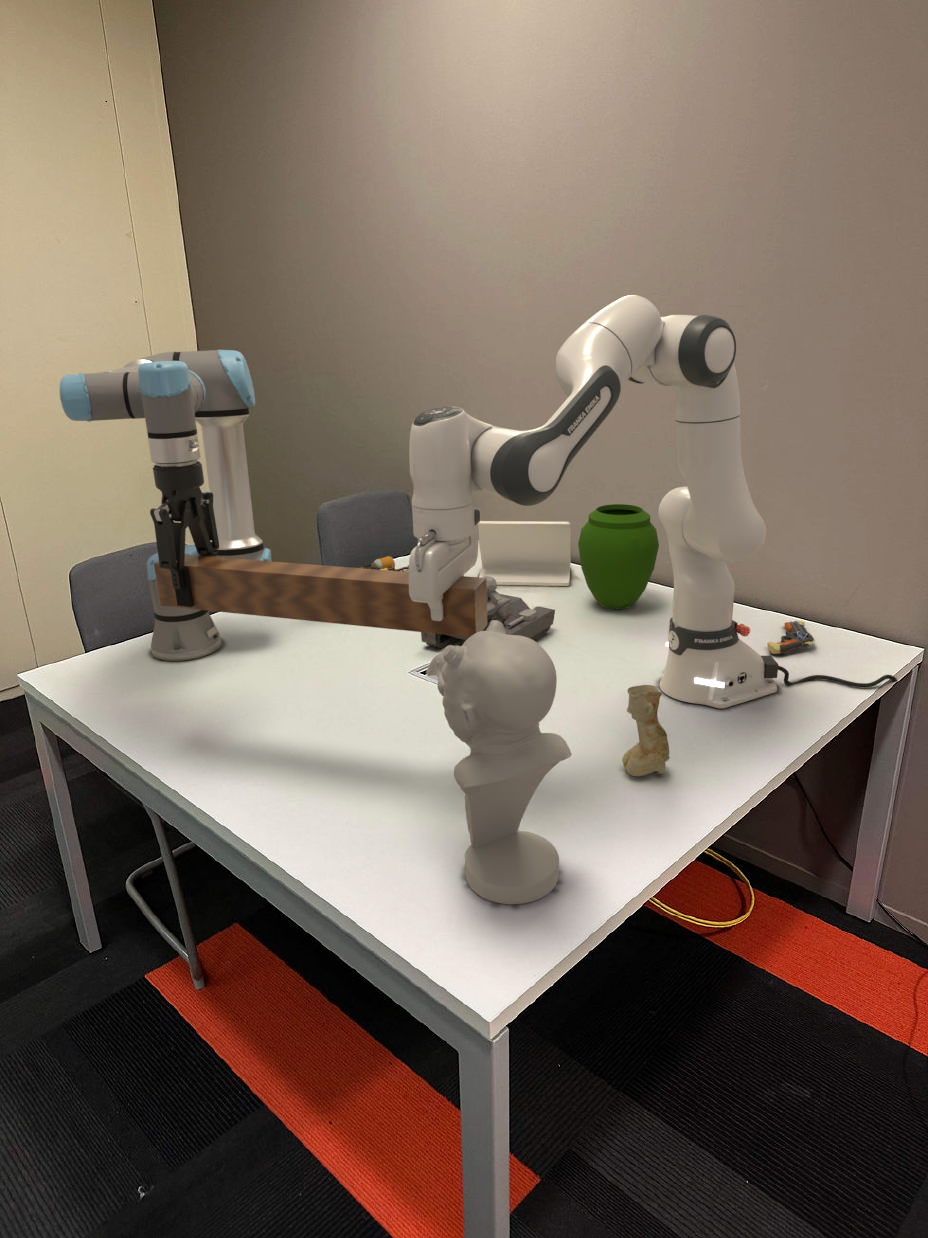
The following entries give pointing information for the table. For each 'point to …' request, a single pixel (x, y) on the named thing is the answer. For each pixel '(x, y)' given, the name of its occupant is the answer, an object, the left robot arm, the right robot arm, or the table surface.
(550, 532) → the tablet stand
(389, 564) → the spray gun
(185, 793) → the table surface
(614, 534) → the vase
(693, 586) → the right robot arm
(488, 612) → the toy
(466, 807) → the bust sculpture
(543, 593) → the table surface
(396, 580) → the post
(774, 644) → the toy gun
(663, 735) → the sculpture
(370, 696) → the table surface
